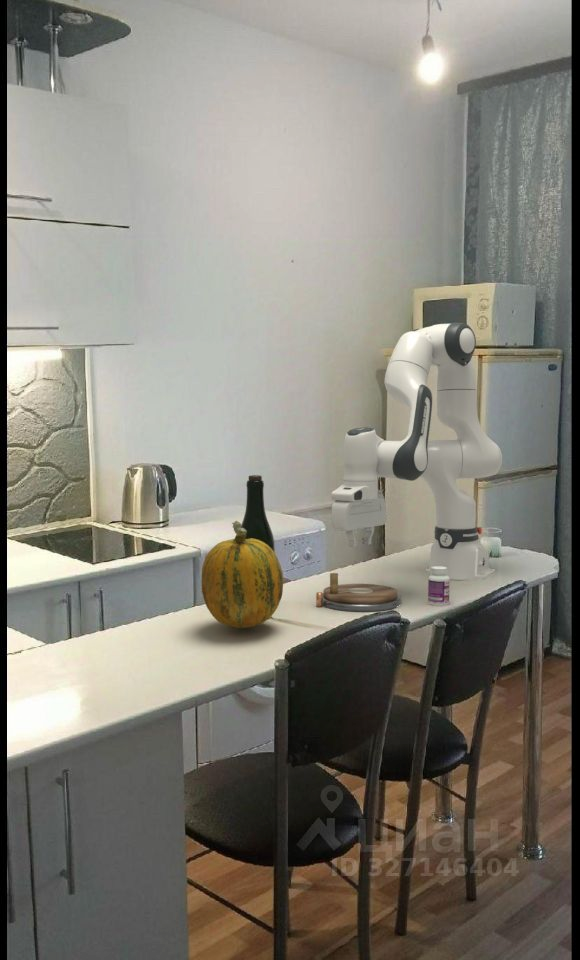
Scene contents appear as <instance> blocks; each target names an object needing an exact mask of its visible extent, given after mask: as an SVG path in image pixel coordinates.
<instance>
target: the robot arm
mask: <svg viewBox="0 0 580 960" xmlns="http://www.w3.org/2000/svg"><path fill="white" fill-rule="evenodd" d="M476 343H477V339H476V334H475V332H474V331H473V329H472V328H471V326H470V325H469V324H467V323H464V322H452V323H439V324H433V325H431V326H426V327H421V328H416V329H413V330H411V331H406V332H405V333H403V334H402V335H401V336H400V338H399V340H398V341H397V342H396V345H395V347H394V349H393V351H392V353H391V357H390V358H389V360H388V361H389V362H388V365H387V367H386V370H385V374H384V386H385V389H386V391H387V393H388V395H389V396H391V397H392V398H393V399H394V400H395V401H397V402H399V403H400V404H402V405H404V406H407V407H409V409H410V415H409V422H408V429H407V435H406V437H405V438H404V439H403V440H384V438H381V437H380V436H379V435H377V432H376V429H375V428H373V427H367V426H365V427H357V428H352V429H350V430H348V431H347V432H346V434H345V437H344V441H343V451H342V464H343V468H344V473H343V478H342V484H341V485H340V486H339V487H337V488H336V489H335V490H332V492H331V493H330V494H331V495H330V496H331V500H332V501H333V502H332V505H331V526H332V529H333V530H334V531H336V532H345V535H346V538H347V540H348V547H349V548H352V549H353V548H357V547H358V544H359V543H358V541H359V540H358V539H356V536H355V535H356V534H357V530H361V529H364V531H365V532H364V536H363V537H362V544H363V545H365V546H366V545H369V546H370V545H371V544H372V538H373V534H374V533H375V532H374V531H375V527H379V526H384V525H386V522H387V506H386V501H385V498H384V494H383V492H382V491H381V490H380V489H379V487H378V486H379V485H378V484H379V483H378V482H379V481H378V480H379V478H385V479H386V478H387V479H388V478H389V479H399V480H405V481H416V480H418V479H419V478H421V479H423V480H424V481H425V483H427V485H429V488H430V490H431V492H432V494H433V496H434V497H433V498H434V500H435V501H434V502H435V512H436V513H435V514H436V518H435V519H436V525H435V526H434V531H433V534H434V540H435V541H434V542H433V543H432V544H431V546H430V553H429V555H430V556H429V566H428V568H425V571H426V572H427V573H429V576H430V575H432V573H431V567H434V566H442V567H446V568H447V573H446V575H447V576H448V577H449V580H450V581H451V580H452V581H453V580H454V581H467V580H468V581H469V580H485V579H487V578H488V577H489V576H490V575H491V574H493V573H494V572H495V571H496V569H495V568H491V567H490V554H489V551H488V550H487V549H486V548H485V547H484V545H483V544H482V543H481V542H480V541H479V539H480V535H482V533H483V528H482V527H481V526H479V527H477V526H476V525H477V521H476V520H477V515H476V514H477V503H476V500H475V499H474V497H473V496H472V495H471V494H470V493H467V492H466V491H464V490H462V489H460V488H459V487H458V485H457V480H458V479H483V478H489V477H492V476H495V475H496V474H497V473H498V472H499V471H500V469H501V468H502V465H503V454H502V453H503V452H502V451H501V448H500V447H499V446H498V444H497V443H496V442H494V441H493V440H492V439H491V438H490V437H488V435H487V434H486V433H485V431H484V430H483V428H482V426H481V423H480V419H479V416H478V404H477V403H478V401H477V378H476V371H475V366H474V360H473V355H474V353H475V350H476ZM433 366H434V367H435V366H436V368H437V371H438V372H437V380H436V415H437V416H436V417H437V418H438V420H439V422H441V424H443V425H444V426H446V427H448V428H450V429H452V430H453V431H454V432H455V434H456V437H457V439H434V440H429V436H430V428H431V420H432V410H433V393H432V391H431V389H430V388H429V387H428V384H427V382H428V377H429V372H430V368H431V367H433Z"/></svg>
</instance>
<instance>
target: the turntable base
mask: <svg viewBox="0 0 580 960" xmlns="http://www.w3.org/2000/svg"><path fill="white" fill-rule="evenodd" d="M315 593H316V594H315V595H316V596H315V598H316V600H315V601H316V603H315V607H316V608H323V607H324V608H327V609H329V610H330V609H331V610H333V611H334V610H335V611H341V612H342V611H343V612H351V613H352V612H354V613H371V612H372V613H373V612H374V613H376V612H385V611H391V610H394V608H395V609H397V608H398V607H397V606H399V605H400V604H401V605H402V603H403V602H402V601H403V599H402V596H401V595H400V594H398V598H397V599H396V600H395V601H392V602H388V603H383V604H371V605H355V604H343V603H337V602H332V601H329V600H326V599H325V598H324V597H323V591H322V592H321V591H319V592H315ZM401 602H402V603H401ZM401 605H400V606H401ZM400 606H399V607H400ZM396 607H397V608H396Z"/></svg>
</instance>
